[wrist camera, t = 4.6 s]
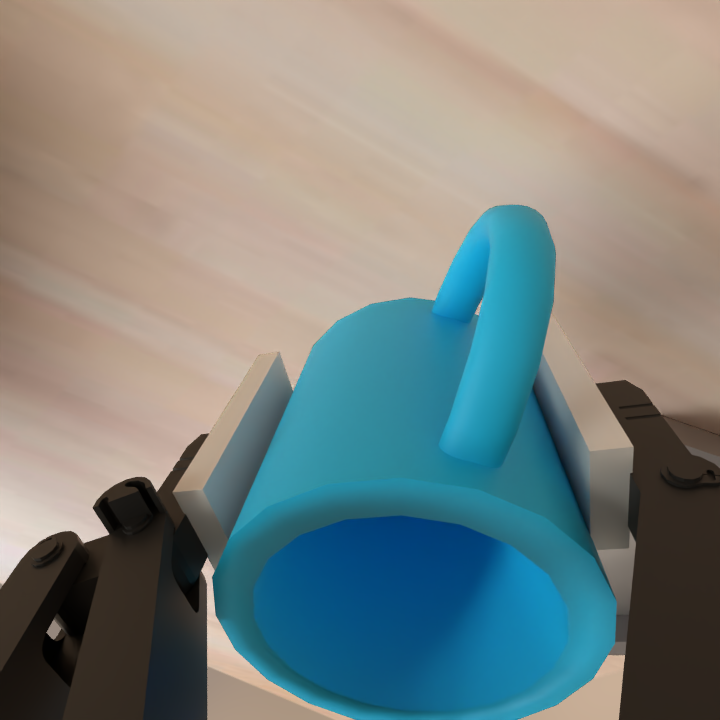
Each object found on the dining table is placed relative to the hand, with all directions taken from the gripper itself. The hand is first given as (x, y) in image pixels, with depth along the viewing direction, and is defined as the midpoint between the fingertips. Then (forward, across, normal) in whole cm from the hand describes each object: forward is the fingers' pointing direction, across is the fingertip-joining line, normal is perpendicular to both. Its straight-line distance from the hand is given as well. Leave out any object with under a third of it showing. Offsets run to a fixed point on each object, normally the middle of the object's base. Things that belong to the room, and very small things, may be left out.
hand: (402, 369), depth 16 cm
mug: (+1, +1, 0) cm, 1 cm away
